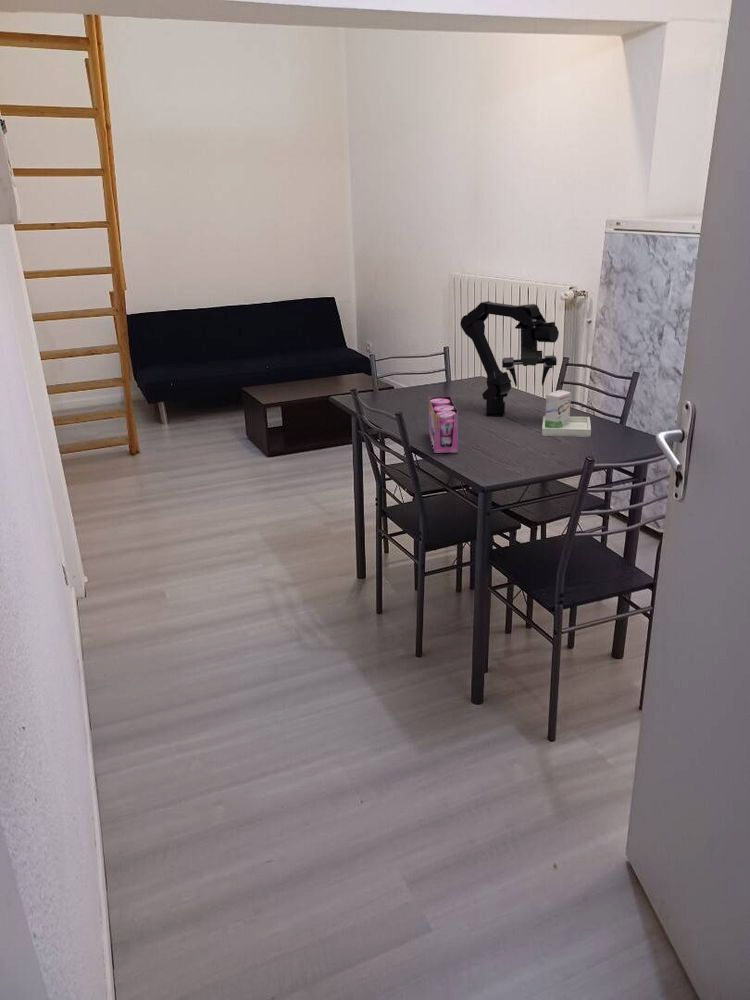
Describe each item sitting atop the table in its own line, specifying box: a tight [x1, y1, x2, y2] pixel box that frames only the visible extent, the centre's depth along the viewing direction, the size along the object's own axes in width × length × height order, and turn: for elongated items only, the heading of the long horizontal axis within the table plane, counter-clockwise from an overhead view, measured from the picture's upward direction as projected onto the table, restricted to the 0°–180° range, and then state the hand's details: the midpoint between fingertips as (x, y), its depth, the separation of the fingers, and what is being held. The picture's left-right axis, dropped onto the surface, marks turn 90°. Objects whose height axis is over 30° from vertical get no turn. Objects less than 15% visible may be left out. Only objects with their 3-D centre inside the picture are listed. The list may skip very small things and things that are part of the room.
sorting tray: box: [541, 415, 592, 438], centre depth 263 cm, size 16×16×2 cm
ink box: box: [544, 389, 572, 428], centre depth 264 cm, size 8×5×12 cm, turn 135°
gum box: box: [428, 395, 459, 453], centre depth 251 cm, size 24×8×14 cm, turn 1°
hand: (529, 385), depth 270 cm, fingers open, 9 cm apart
